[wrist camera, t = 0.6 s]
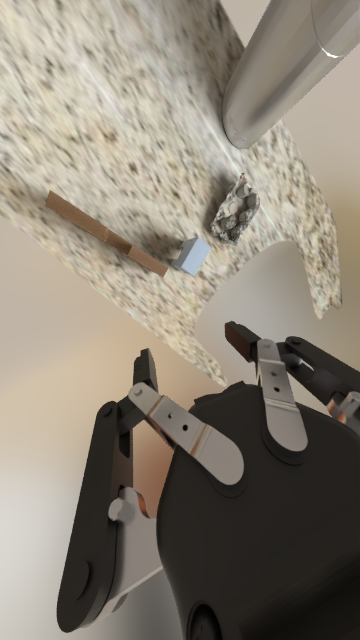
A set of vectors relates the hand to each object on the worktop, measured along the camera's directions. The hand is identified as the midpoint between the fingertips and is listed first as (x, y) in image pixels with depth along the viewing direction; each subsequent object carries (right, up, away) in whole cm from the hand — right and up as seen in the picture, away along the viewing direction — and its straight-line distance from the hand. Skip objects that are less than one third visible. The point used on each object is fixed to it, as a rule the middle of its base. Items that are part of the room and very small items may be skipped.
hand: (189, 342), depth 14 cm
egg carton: (+10, +26, +18) cm, 33 cm away
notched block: (0, +17, +18) cm, 25 cm away
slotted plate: (-13, +18, +14) cm, 26 cm away
